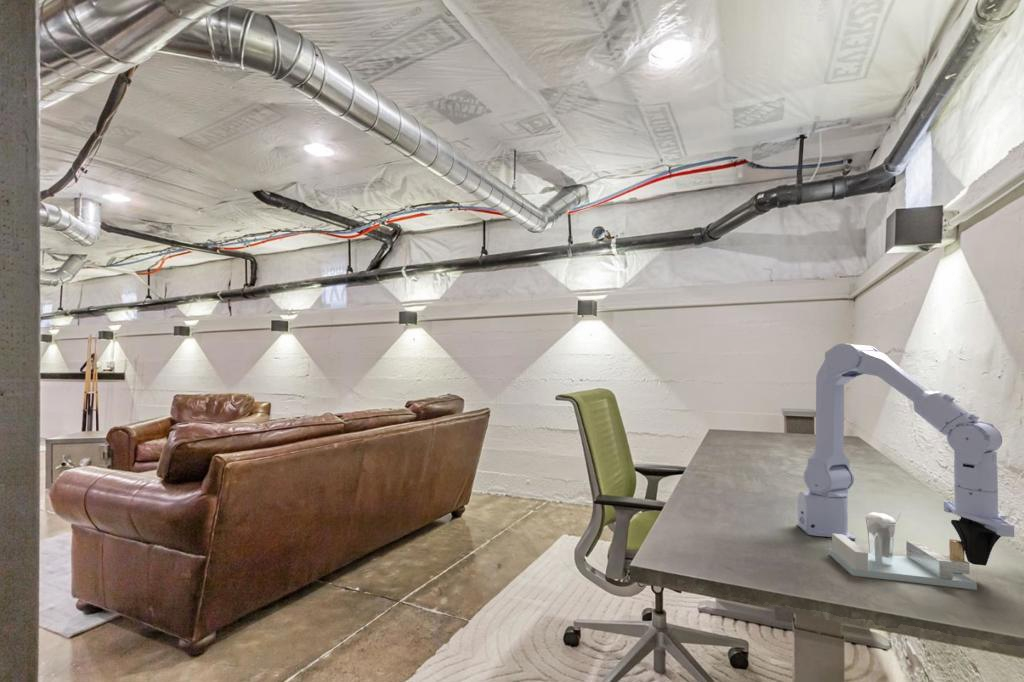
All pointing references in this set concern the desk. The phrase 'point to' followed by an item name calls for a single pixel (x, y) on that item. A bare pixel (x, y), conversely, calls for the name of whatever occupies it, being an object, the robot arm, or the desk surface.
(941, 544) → the desk surface
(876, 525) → the milkshake
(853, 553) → the pale blue stepped plate
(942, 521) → the desk surface
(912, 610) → the desk surface
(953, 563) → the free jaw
